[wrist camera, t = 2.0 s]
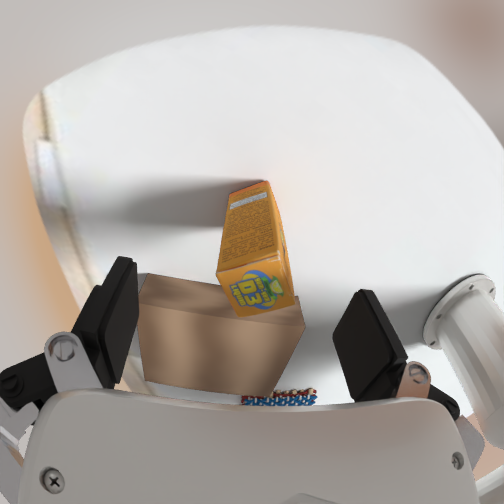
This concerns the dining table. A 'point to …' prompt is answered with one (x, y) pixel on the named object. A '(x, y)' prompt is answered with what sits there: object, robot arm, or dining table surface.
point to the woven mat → (282, 399)
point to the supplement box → (254, 253)
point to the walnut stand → (212, 339)
